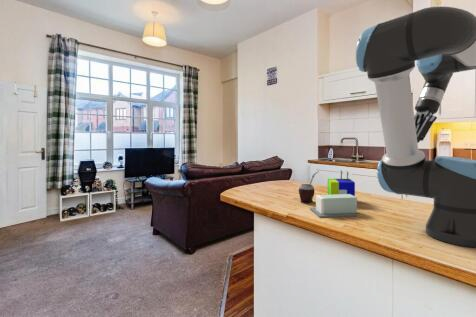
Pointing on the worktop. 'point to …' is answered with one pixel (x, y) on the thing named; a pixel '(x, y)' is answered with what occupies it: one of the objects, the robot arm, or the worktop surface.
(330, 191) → the puzzle toy
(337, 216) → the rubber mat
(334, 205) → the sage block
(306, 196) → the mate gourd
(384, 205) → the worktop surface
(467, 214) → the robot arm
